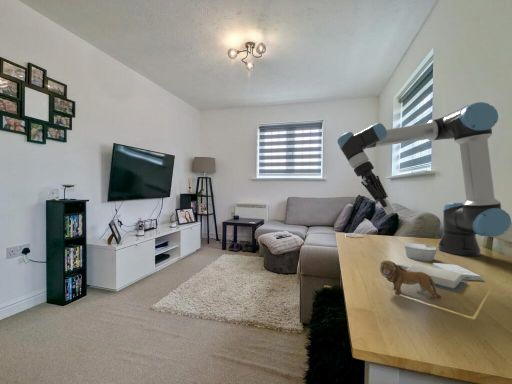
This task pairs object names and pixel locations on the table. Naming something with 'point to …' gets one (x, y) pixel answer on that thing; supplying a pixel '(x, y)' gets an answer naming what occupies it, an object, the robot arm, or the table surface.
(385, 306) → the table surface
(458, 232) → the robot arm
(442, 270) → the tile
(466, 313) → the table surface
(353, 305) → the table surface
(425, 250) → the ramekin
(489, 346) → the table surface
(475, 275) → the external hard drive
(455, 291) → the mat
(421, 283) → the lion figurine
